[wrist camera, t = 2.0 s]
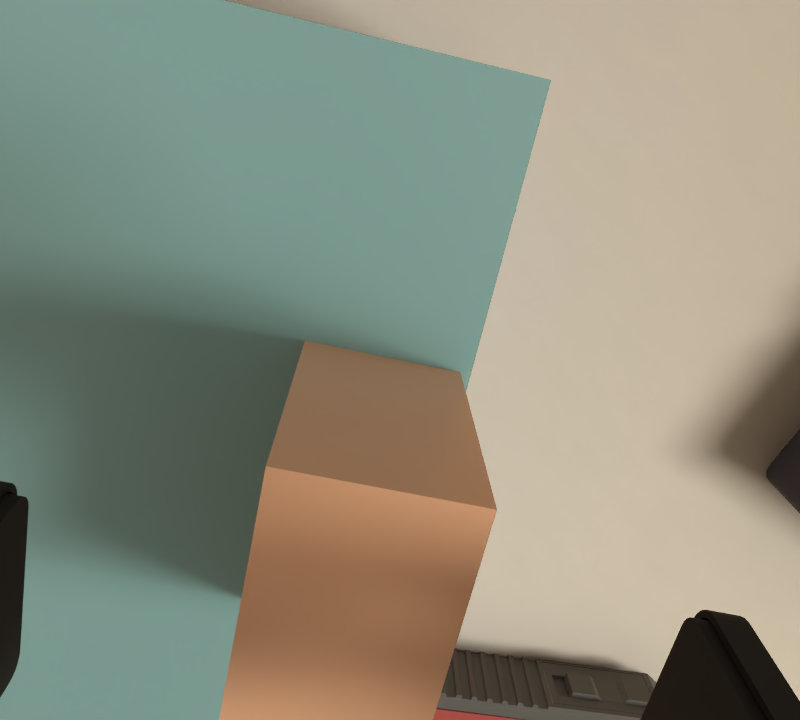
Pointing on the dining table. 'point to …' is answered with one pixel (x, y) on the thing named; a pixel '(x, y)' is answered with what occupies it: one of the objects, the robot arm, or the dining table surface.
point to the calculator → (787, 472)
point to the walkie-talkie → (538, 690)
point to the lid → (244, 356)
